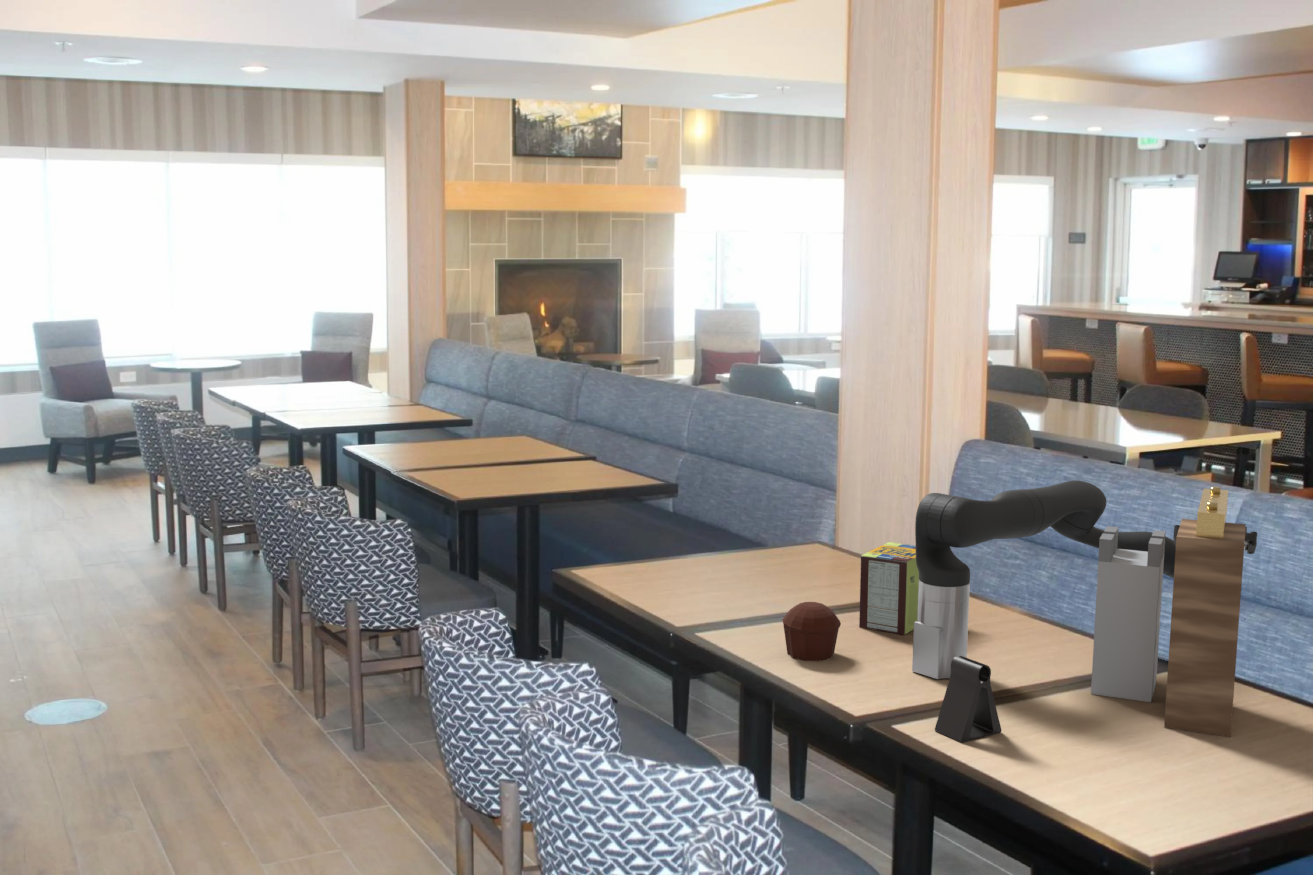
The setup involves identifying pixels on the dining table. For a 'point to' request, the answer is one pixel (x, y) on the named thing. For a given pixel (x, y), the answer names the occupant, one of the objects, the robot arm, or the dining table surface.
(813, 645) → the muffin
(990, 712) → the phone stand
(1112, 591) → the post
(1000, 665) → the dining table surface
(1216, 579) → the stand
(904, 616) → the protein box
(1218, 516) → the gold studded block
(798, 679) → the dining table surface
